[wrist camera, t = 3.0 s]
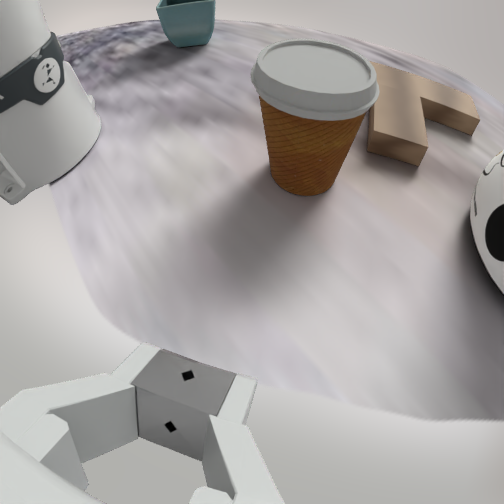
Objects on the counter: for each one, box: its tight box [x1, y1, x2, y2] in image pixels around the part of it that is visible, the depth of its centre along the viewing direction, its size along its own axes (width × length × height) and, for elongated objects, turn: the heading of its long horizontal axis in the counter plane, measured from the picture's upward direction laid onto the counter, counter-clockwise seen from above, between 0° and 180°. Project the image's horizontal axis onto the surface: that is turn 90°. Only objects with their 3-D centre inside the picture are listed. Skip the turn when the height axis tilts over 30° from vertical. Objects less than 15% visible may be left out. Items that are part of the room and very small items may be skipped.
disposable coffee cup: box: [251, 39, 380, 196], centre depth 25 cm, size 10×10×12 cm
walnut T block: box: [367, 61, 480, 166], centre depth 33 cm, size 24×16×3 cm, turn 74°
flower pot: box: [156, 0, 215, 47], centre depth 42 cm, size 9×9×9 cm
